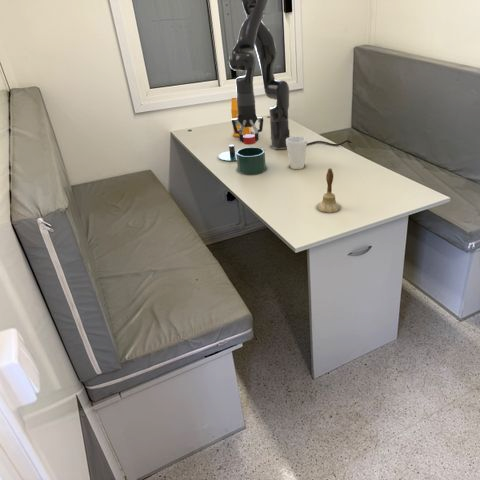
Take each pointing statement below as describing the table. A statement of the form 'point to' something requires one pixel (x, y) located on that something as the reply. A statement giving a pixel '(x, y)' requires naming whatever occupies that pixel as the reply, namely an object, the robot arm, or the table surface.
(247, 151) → the tin
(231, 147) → the lid
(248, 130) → the orange juice
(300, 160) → the foam cup
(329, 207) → the hand bell
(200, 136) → the table surface
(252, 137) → the cylinder
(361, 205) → the table surface
